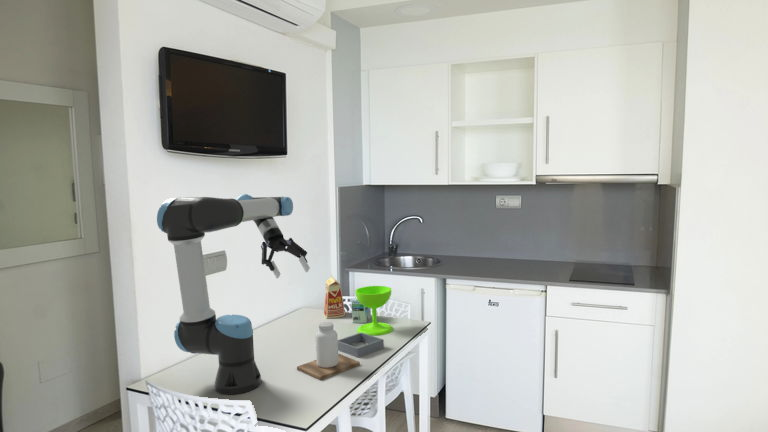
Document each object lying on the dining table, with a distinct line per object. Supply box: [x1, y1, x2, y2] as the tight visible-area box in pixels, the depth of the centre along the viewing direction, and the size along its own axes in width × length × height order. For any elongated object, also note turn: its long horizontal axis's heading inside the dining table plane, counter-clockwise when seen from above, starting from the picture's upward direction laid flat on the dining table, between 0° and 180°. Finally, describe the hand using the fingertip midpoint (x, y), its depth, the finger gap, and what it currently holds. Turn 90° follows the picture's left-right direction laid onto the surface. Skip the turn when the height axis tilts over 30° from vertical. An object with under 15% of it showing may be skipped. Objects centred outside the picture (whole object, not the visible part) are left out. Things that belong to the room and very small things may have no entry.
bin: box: [338, 332, 385, 359], centre depth 206 cm, size 14×14×4 cm
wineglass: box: [354, 285, 394, 337], centre depth 228 cm, size 16×16×18 cm
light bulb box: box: [351, 296, 372, 324], centre depth 244 cm, size 11×7×11 cm, turn 168°
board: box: [296, 353, 361, 381], centre depth 188 cm, size 18×14×1 cm
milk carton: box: [323, 274, 346, 319], centre depth 253 cm, size 9×9×20 cm
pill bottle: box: [315, 321, 339, 368], centre depth 187 cm, size 8×8×15 cm
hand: (293, 273), depth 203 cm, fingers open, 13 cm apart
